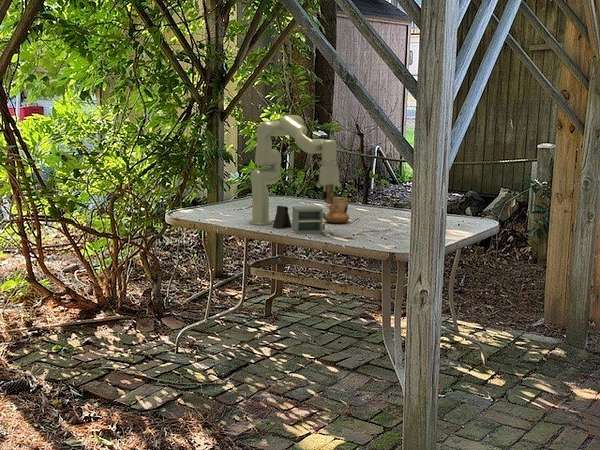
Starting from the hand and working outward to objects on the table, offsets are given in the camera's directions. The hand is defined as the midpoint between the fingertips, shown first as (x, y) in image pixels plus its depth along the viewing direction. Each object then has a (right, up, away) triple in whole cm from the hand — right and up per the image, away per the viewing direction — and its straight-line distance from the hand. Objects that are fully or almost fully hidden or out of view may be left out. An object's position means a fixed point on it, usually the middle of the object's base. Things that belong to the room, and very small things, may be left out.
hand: (328, 198), depth 399 cm
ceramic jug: (+7, -13, +46) cm, 48 cm away
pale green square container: (-8, -18, +9) cm, 22 cm away
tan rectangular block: (0, -2, 0) cm, 2 cm away
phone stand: (-25, -15, +26) cm, 39 cm away
